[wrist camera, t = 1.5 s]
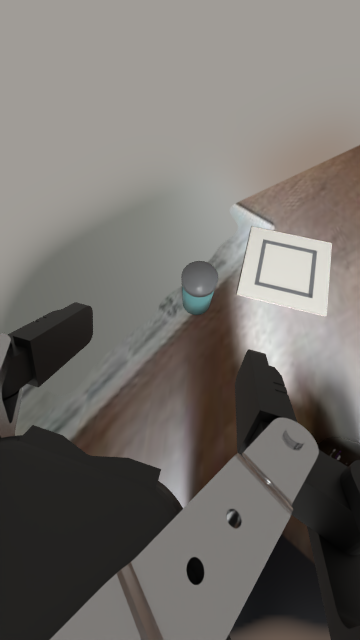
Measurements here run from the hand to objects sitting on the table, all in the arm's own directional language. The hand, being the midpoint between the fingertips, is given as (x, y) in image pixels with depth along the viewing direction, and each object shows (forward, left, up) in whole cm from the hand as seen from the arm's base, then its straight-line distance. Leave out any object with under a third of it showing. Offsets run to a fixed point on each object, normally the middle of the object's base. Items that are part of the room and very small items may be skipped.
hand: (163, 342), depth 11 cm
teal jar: (0, -12, -21) cm, 24 cm away
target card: (-13, -22, -21) cm, 33 cm away
